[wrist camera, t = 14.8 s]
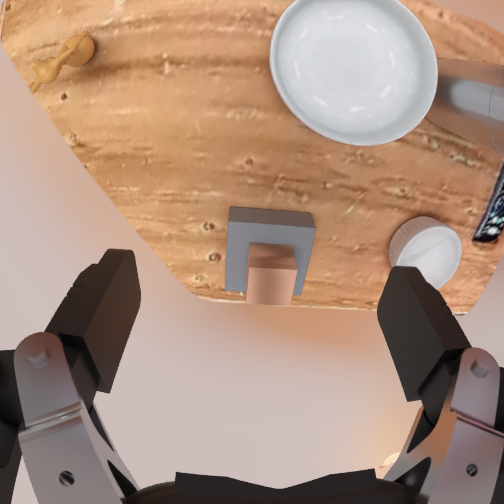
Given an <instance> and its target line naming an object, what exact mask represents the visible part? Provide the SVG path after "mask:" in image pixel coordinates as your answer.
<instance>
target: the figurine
mask: <svg viewBox="0 0 504 504" xmlns="http://www.w3.org/2000/svg"><path fill="white" fill-rule="evenodd" d="M88 33H89V32H88V31H86V32H85V31H84V32H83V33H81V34H79V35H75V36H72V37H70V38H69V39H68V40H67V41H66V42H65V43H64V45H63V46H62V48H61V51H60V52H59V54H58V57H57V58H55V57H50V58H47V59H46V60H40V59H37V60H35V61H33V62H32V68H33V70H34V71H35V72H36V74H37V77H36V81H35V83H34V82H33V83H32V86H31V93H34V92H35V91H36V90H37V88H38V87H39V85H40V84H42V83H44V84H49V83H51V82H53V81H54V80H55V79H56V78H57V77H58V75H59V73H60V70H61V69H62V66H63V65H65V64H67V65H69V66H72V67H77V66H81V65H83V64H85V63H86V62H87V61H88V60H89V59H90V58H91V57H92V55H93V52H94V43H93V41H92V39H91V38H90V37H88V36H86V35H87V34H88Z"/></svg>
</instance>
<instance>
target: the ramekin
mask: <svg viewBox="0 0 504 504" xmlns="http://www.w3.org/2000/svg"><path fill="white" fill-rule="evenodd" d="M461 256H462V243H461V240H460V237H459V235H458V234H457V233H456V232H455V231H454V230H453V229H452V228H451V227H450V226H448V225H445V224H442V223H441V222H439V221H437V220H436V219H433V218H430V217H426V216H423V217H422V216H421V217H416V218H413V219H411V220H409V221H407V222H406V223H404V224H403V225H402V226H401V227H400V228H399V229H398V230H397V231H396V233H395V234H394V236H393V238H392V240H391V242H390V245H389V260H390V264H391V267H392V268H393V267H394V266H414V267H417V268H418V269H419V270H420V272H421V273H422V275H423V277H424V278H425V280H426V281H427V282H429V283H430V284H431V285H432V286H433V287H434V288H435V289H436V290H437V289H439V288H440V287H442V286H443V285H444V284H445V283H447V282H448V281H449V280H450V279H451V278H452V276H453V275H454V273H455V272H456V270H457V268H458V266H459V263H460V260H461Z"/></svg>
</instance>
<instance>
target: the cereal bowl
mask: <svg viewBox="0 0 504 504" xmlns="http://www.w3.org/2000/svg"><path fill="white" fill-rule="evenodd" d="M269 64H270V71H271V76H272V79H273V82H274V84H275V87H276V89H277V92H278V93H279V95H280V97H281V98H282V100H283V101H284V103H285V105H286V106H287V107H288V109H289V110H290V111H291V112H292V113H293V114H294V115H295V116H296V117H297V118H298V119H299V120H300V121H301V122H302V123H303V124H305V125H306V126H307V127H309V128H310V129H311V130H313V131H315V132H317V133H318V134H320V135H322V136H324V137H327V138H329V139H331V140H334V141H337V142H340V143H344V144H349V145H356V146H374V145H380V144H385V143H388V142H391V141H394V140H396V139H398V138H400V137H402V136H404V135H406V134H407V133H409V132H410V131H411V130H413V129H414V128H415V127H416V126H417V125H418V124H419V123H420V122H421V121H422V120H423V118H424V117H425V115H426V114H427V112H428V111H429V109H430V107H431V105H432V102H433V100H434V97H435V93H436V89H437V81H438V66H437V59H436V54H435V51H434V48H433V45H432V42H431V40H430V38H429V36H428V34H427V32H426V30H425V29H424V27H423V26H422V24H421V23H420V21H419V20H418V19H417V18H416V16H415V15H414V14H413V13H412V12H411V11H410V10H409V9H408V8H407V7H405V6H404V5H403V4H402V3H400V2H399V1H398V0H295V1H293V2H292V3H291V4H290V5H289V6H288V7H287V8H286V9H285V10H284V12H283V13H282V15H281V16H280V18H279V19H278V21H277V23H276V25H275V28H274V31H273V33H272V37H271V41H270V48H269Z"/></svg>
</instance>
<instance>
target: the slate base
mask: <svg viewBox="0 0 504 504" xmlns="http://www.w3.org/2000/svg"><path fill="white" fill-rule="evenodd" d="M315 230H316V227H315V225H314V222H313V219H312V217H311V214H310V213H304V212H293V211H281V210H269V209H257V208H243V207H230V212H229V220H228V236H227V255H226V274H225V291H238V292H246V274H247V263H248V252H249V242H253V243H268V244H282V245H292V248H293V252H294V257H295V261H296V266H297V274H296V279H295V284H294V289H293V294H292V295H301V293H302V289H303V284H304V280H305V276H306V271H307V267H308V262H309V258H310V253H311V249H312V244H313V239H314V235H315Z"/></svg>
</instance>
